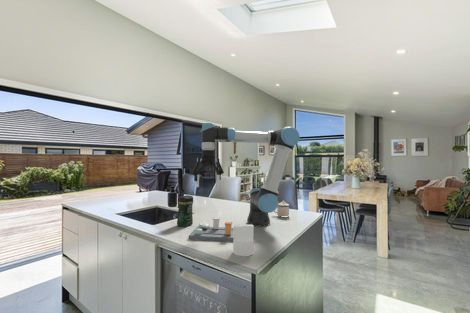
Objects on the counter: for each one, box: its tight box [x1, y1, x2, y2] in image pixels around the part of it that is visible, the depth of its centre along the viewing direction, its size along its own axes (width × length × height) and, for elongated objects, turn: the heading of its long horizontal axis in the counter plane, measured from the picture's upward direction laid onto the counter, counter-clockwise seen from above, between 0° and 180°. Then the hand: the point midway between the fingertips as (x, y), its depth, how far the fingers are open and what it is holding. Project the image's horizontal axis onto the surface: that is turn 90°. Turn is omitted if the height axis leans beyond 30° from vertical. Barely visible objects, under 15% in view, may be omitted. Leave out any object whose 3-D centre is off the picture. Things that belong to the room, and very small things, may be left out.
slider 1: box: [212, 216, 221, 229], centre depth 135 cm, size 3×3×6 cm
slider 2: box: [224, 221, 233, 235], centre depth 125 cm, size 3×3×6 cm
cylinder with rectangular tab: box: [232, 223, 255, 257], centre depth 107 cm, size 9×9×12 cm
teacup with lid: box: [273, 200, 290, 217], centre depth 179 cm, size 12×9×12 cm
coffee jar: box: [176, 194, 194, 228], centre depth 150 cm, size 10×8×19 cm
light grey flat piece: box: [198, 220, 211, 229], centre depth 136 cm, size 5×7×1 cm
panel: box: [188, 225, 234, 243], centre depth 131 cm, size 24×18×4 cm
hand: (207, 186), depth 138 cm, fingers open, 13 cm apart
